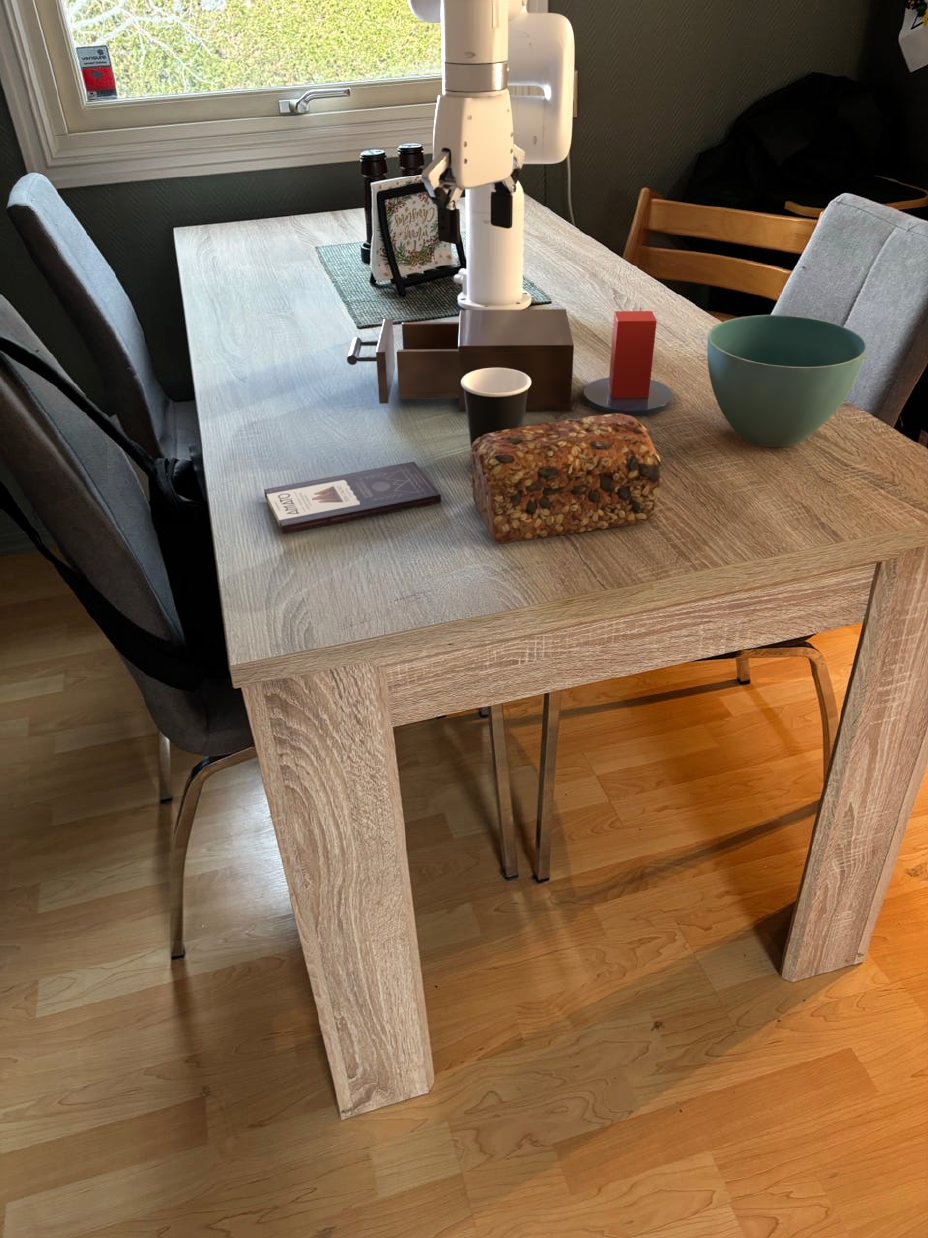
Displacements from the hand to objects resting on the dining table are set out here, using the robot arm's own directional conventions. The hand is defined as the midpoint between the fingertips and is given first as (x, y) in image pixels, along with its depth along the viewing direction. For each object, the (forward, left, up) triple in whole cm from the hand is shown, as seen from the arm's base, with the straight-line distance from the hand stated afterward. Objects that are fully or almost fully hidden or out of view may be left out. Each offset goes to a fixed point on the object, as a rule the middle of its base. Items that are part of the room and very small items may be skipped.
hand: (475, 233), depth 122 cm
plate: (+15, +14, -21) cm, 30 cm away
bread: (+30, -17, -22) cm, 41 cm away
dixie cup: (+17, -14, -22) cm, 31 cm away
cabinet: (+2, +5, -21) cm, 22 cm away
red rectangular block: (+16, +14, -20) cm, 29 cm away
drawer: (-7, -5, -20) cm, 22 cm away
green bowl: (+35, +17, -22) cm, 45 cm away
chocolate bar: (+11, -31, -21) cm, 40 cm away
